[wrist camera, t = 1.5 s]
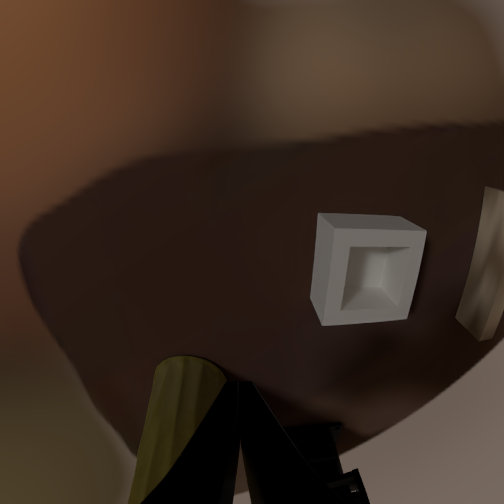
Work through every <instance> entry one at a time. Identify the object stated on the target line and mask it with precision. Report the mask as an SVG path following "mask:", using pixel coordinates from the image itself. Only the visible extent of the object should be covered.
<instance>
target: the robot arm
mask: <svg viewBox="0 0 504 504" xmlns="http://www.w3.org/2000/svg"><path fill="white" fill-rule="evenodd" d="M239 396H240V403H239ZM341 429H342V425H341V423H332V424H324V425H316V426H306V427H295V428H283V427H282V426H281V424H280V423H279V421H278V420H277V418H276V417H275V415H274V414H273V412H272V411H271V409H270V408H269V406H268V405H267V403H266V402H265V400H264V398H263V397H262V395H261V394H260V392H259V391H258V389H257V388H256V386H255V384H254V383H253V382H252V381H241V382H240V383H239V382H238V381H227V382H225V384H224V385H223V387H222V389H221V390H220V392H219V394H218V395H217V397H216V399H215V400H214V402H213V403H212V405H211V407H210V408H209V410H208V412H207V413H206V415H205V416H204V418H203V420H202V421H201V423H200V424H199V426H198V428H197V429H196V431H195V432H194V434H193V435H192V437H191V439H190V440H189V442H188V443H187V445H186V446H185V448H184V449H183V451H182V453H181V455H180V456H179V457H178V458H177V460H176V462H175V463H174V465H173V466H172V467H171V469H170V470H169V471H168V473H167V474H166V476H165V477H164V478H163V479H162V480H161V481H160V483H159V484H158V485H157V486H156V487H155V488H154V489H153V490H152V491H151V492H150V494H149V495H148V496H147V497H146V498H145V499H144V500H143V501H142V502H141V503H140V504H233V497H234V489H235V481H236V474H237V466H238V458H239V450H240V440H241V449H242V455H243V461H244V466H245V472H246V477H247V483H248V488H249V493H250V498H251V504H370V502H369V499H368V496H367V493H366V490H365V487H364V485H363V482H362V479H361V476H360V474H359V471H358V469H354V470H352V471H351V472H347V473H345V474H343V470H342V467H341V463H340V460H339V456H338V452H337V449H336V445H335V444H336V442H337V439H338V437H339V434H340V432H341ZM355 490H356V492H351V491H355Z"/></svg>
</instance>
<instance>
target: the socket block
mask: <svg viewBox="0 0 504 504" xmlns="http://www.w3.org/2000/svg"><path fill="white" fill-rule="evenodd" d="M426 233H427V231H426V230H424V229H422V228H420V227H419V226H417V225H415V224H413V223H411V222H409V221H408V220H406V219H404V218H402V217H400V216H385V215H363V214H336V213H318V221H317V233H316V245H315V256H314V267H313V277H312V286H311V295H310V299H311V301H312V303H313V306H314V308H315V310H316V312H317V315H318V317H319V319H320V322H321V324H322V326H328V325H344V324H357V323H370V322H381V321H391V320H401V319H407V316H408V313H409V309H410V306H411V302H412V298H413V294H414V290H415V286H416V282H417V278H418V273H419V269H420V264H421V259H422V254H423V249H424V244H425V239H426Z"/></svg>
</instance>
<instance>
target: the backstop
mask: <svg viewBox="0 0 504 504" xmlns="http://www.w3.org/2000/svg"><path fill="white" fill-rule="evenodd" d="M503 310H504V191H503V190H500V189H496V188H491V187H486V186H485V191H484V199H483V206H482V212H481V219H480V224H479V230H478V235H477V240H476V244H475V249H474V253H473V258H472V262H471V266H470V270H469V274H468V277H467V281H466V284H465V288H464V291H463V295H462V298H461V301H460V304H459V307H458V310H457V313H456V316H455V318H456V319H457V320H458V321H459V322H460V323H461V324H462V325H463V326H464V327H465V328H466V329H467V330H468V331H469V332H470V333H471V334H472V335H473V336H474V337H475V338H476V340H477V341H478V342H479V341H483V340H487V339H491V338H493V336H494V333H495V331H496V328H497V326H498V323H499V321H500V318H501V316H502V313H503Z"/></svg>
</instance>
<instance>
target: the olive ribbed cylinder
mask: <svg viewBox="0 0 504 504" xmlns="http://www.w3.org/2000/svg"><path fill="white" fill-rule="evenodd" d="M225 382H227V381H226V378H225V376H224V374H223V373H222V371H221V370H220V369H219V368H218V367H216V366H215V365H214V364H212V363H211V362H209V361H207V360H205V359H202V358H198V357H193V356H185V355H182V356H175V357H171V358H168V359H166V360H164V361H163V362H161V363H160V364H159V365H158V366H157V368H156V370H155V375H154V380H153V388H152V393H151V397H150V401H149V406H148V411H147V416H146V421H145V425H144V430H143V434H142V438H141V442H140V446H139V451H138V456H137V463H136V469H135V474H134V478H133V482H132V486H131V491H130V496H129V500H128V504H140V503H141V502H142V501H143V500H144V499H145V498H146V497H147V496H148V495H149V494H150V492H151V491H152V490H153V489H154V488H155V487H156V486H157V485H158V484H159V483H160V481H161V480H162V479H163V478H164V477H165V476H166V474H167V473H168V471H169V470H170V469H171V467H172V466H173V465H174V463H175V462H176V460H177V458H178V457H179V456H180V455H181V453H182V451H183V449H184V448H185V446H186V445H187V443H188V442H189V440H190V439H191V437H192V435H193V434H194V432H195V431H196V429H197V428H198V426H199V424H200V423H201V421H202V420H203V418H204V416H205V415H206V413H207V412H208V410H209V408H210V407H211V405H212V403H213V402H214V400H215V399H216V397H217V395H218V394H219V392H220V390H221V389H222V387H223V385H224V384H225Z"/></svg>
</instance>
